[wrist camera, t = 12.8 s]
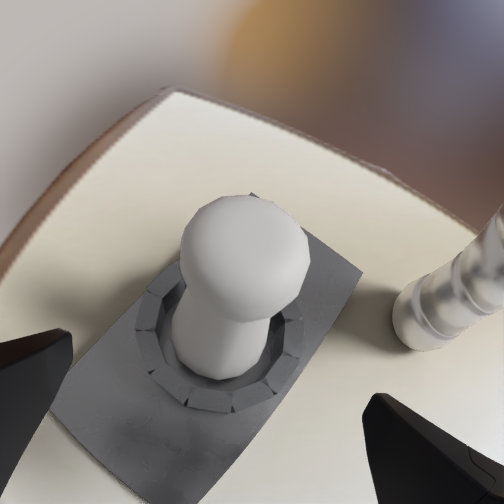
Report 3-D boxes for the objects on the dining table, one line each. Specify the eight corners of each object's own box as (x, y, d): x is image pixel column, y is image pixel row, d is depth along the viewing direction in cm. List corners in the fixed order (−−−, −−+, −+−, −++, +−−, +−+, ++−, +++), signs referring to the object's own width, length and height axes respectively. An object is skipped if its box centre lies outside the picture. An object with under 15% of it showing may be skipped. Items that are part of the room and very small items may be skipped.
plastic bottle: (374, 296, 26) (540, 131, 9) (425, 288, 28) (570, 156, 11) (393, 365, 23) (605, 240, 6) (444, 348, 25) (615, 239, 8)
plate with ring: (179, 516, 15) (177, 537, 11) (51, 402, 17) (22, 395, 13) (355, 280, 27) (380, 255, 23) (248, 202, 29) (258, 168, 25)
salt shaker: (181, 390, 18) (165, 346, 7) (166, 309, 21) (146, 174, 10) (267, 373, 20) (366, 304, 9) (247, 296, 22) (305, 164, 11)
